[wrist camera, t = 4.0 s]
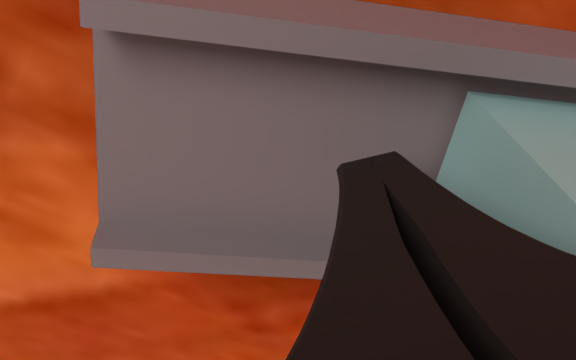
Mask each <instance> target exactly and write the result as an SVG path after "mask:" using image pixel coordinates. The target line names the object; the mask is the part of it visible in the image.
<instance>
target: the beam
mask: <svg viewBox="0 0 576 360" xmlns="http://www.w3.org/2000/svg"><path fill="white" fill-rule="evenodd" d="M79 6H80V27H85V28H93V56H94V86H95V116H96V146H97V175H98V205H99V224H98V227H97V230H96V233H95V236H94V239H93V242H92V245H91V267H94V268H113V269H133V270H152V271H171V272H190V273H209V274H229V275H248V276H267V277H286V278H305V279H322V278H323V275H324V272H325V268H326V265H327V262H328V258H329V254H330V250H331V245H332V241H333V236H334V232H335V227H336V220H337V212H338V204H339V181H338V176H337V171H336V169H337V168H338V167H339V165H340V164H342V163H346V162H350V161H355V160H359V159H363V158H367V157H372V156H376V155H380V154H384V153H389V152H393V151H396V152H397V153H399V154H400V155H402V156H403V157H404V158H406V159H407V160H408V161H409V162H411V163H412V164H413V165H414V166H416V167H417V168H418V169H420V170H421V171H422V172H424V173H425V174H426V175H428V176H429V177H430V178H432V179H433V180H434V181H436V179H437V177H438V174H439V171H440V168H441V165H442V163H443V160H444V157H445V154H446V152H447V149H448V146H449V143H450V140H451V138H452V135H453V132H454V129H455V126H456V124H457V121H458V118H459V115H460V113H461V110H462V107H463V104H464V101H465V99H466V96H467V93H468V91H474V92H483V93H491V94H500V95H508V96H517V97H525V98H534V99H542V100H551V101H559V102H568V103H576V32H574V31H567V30H560V29H553V28H546V27H539V26H532V25H525V24H518V23H511V22H504V21H497V20H490V19H482V18H475V17H468V16H461V15H454V14H447V13H440V12H433V11H426V10H419V9H412V8H405V7H398V6H391V5H384V4H377V3H370V2H363V1H356V0H79Z"/></svg>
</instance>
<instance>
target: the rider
mask: <svg viewBox="0 0 576 360" xmlns="http://www.w3.org/2000/svg"><path fill="white" fill-rule="evenodd" d="M436 182H437V183H439V184H440V185H441V186H443V187H444V188H446V189H447V190H449V191H450V192H452V193H453V194H455V195H456V196H458V197H459V198H461V199H462V200H464V201H465V202H467V203H468V204H470V205H472V206H473V207H475V208H476V209H478V210H480V211H482V212H483V213H485V214H487V215H488V216H490V217H492V218H494V219H495V220H497V221H499V222H501V223H503V224H505V225H507V226H509V227H511V228H513V229H515V230H517V231H519V232H521V233H523V234H526V235H528V236H530V237H532V238H534V239H536V240H538V241H540V242H543V243H545V244H547V245H550V246H552V247H554V248H557V249H559V250H562V251H564V252H567V253H570V254H572V255H575V256H576V103H568V102H559V101H551V100H542V99H534V98H525V97H517V96H508V95H500V94H491V93H483V92H474V91H468V93H467V96H466V99H465V101H464V104H463V107H462V110H461V113H460V115H459V118H458V121H457V124H456V126H455V129H454V132H453V135H452V138H451V140H450V143H449V146H448V149H447V152H446V154H445V157H444V160H443V163H442V165H441V168H440V171H439V174H438V177H437V179H436Z"/></svg>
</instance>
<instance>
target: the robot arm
mask: <svg viewBox="0 0 576 360" xmlns="http://www.w3.org/2000/svg"><path fill="white" fill-rule="evenodd" d="M336 171H337V176H338V181H339V204H338V212H337V220H336V227H335V232H334V236H333V241H332V245H331V250H330V254H329V258H328V262H327V265H326V268H325V272H324V275H323V278H322V281H321V284H320V287H319V289H318V292H317V295H316V297H315V300H314V302H313V305H312V307H311V309H310V312H309V314H308V317H307V319H306V321H305V323H304V326H303V328H302V330H301V332H300V334H299V336H298V338H297V339H296V341H295V343H294V345H293V347H292V349H291V351H290V353H289V354H288V356H287V358H286V360H576V256H575V255H572V254H570V253H567V252H564V251H562V250H559V249H557V248H554V247H552V246H550V245H547V244H545V243H543V242H540V241H538V240H536V239H534V238H532V237H530V236H528V235H526V234H523V233H521V232H519V231H517V230H515V229H513V228H511V227H509V226H507V225H505V224H503V223H501V222H499V221H497V220H495V219H494V218H492V217H490V216H488V215H487V214H485V213H483V212H482V211H480V210H478V209H476V208H475V207H473V206H472V205H470V204H468V203H467V202H465V201H464V200H462V199H461V198H459V197H458V196H456V195H455V194H453V193H452V192H450V191H449V190H447V189H446V188H444V187H443V186H441V185H440V184H439V183H437V182H436V181H434V180H433V179H432V178H430V177H429V176H428V175H426V174H425V173H424V172H422V171H421V170H420V169H418V168H417V167H416V166H414V165H413V164H412V163H411V162H409V161H408V160H407V159H406V158H404V157H403V156H402V155H400V154H399V153H397V152H396V151H393V152H389V153H384V154H380V155H376V156H372V157H367V158H363V159H359V160H355V161H350V162H346V163H342V164H340V165H339V167H338V168H337V169H336Z"/></svg>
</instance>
